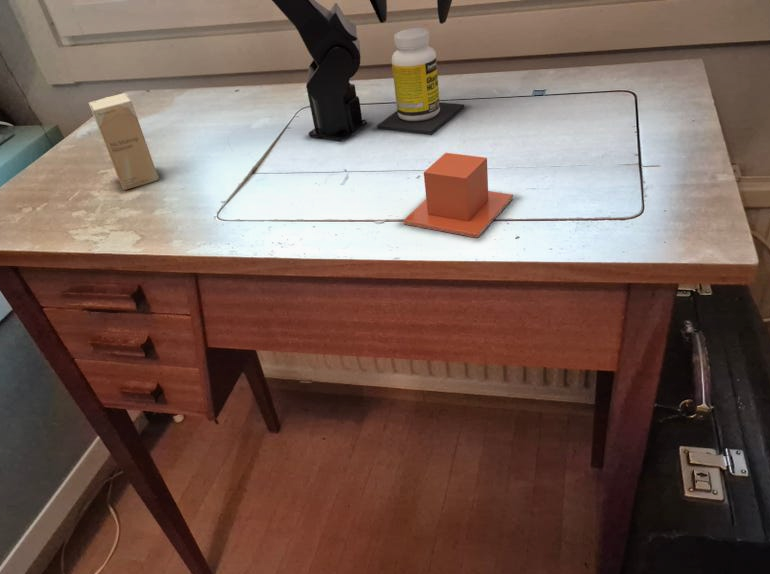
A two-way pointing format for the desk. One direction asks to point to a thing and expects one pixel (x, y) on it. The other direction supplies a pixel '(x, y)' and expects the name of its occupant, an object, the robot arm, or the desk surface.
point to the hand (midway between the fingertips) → (412, 22)
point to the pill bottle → (415, 76)
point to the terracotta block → (456, 186)
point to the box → (124, 140)
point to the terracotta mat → (459, 226)
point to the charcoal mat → (424, 126)
